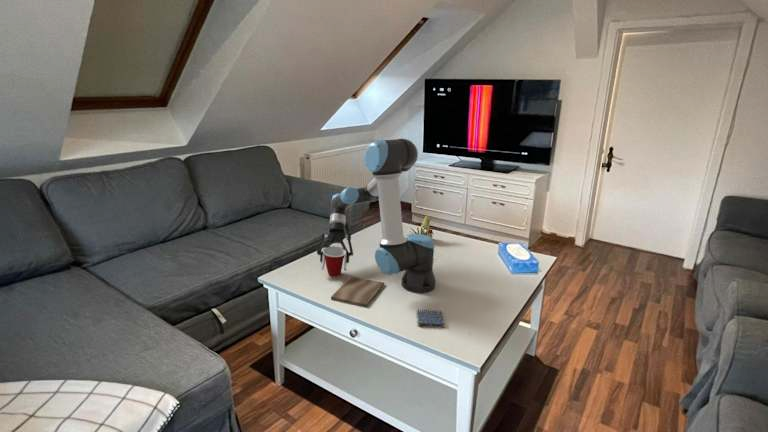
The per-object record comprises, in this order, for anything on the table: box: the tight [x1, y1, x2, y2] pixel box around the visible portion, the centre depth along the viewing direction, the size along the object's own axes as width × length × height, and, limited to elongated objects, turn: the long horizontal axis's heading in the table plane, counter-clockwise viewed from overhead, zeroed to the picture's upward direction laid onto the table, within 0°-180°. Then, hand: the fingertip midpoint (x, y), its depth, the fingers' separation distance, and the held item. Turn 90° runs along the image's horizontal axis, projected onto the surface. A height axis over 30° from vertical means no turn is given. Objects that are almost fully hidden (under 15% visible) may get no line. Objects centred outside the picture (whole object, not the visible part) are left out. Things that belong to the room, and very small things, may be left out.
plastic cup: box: [322, 245, 346, 278], centre depth 191 cm, size 11×11×12 cm
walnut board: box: [330, 276, 385, 308], centre depth 177 cm, size 16×20×1 cm
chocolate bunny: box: [419, 215, 434, 239], centre depth 229 cm, size 7×11×15 cm, turn 143°
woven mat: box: [416, 309, 446, 328], centre depth 158 cm, size 10×11×2 cm
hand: (333, 269), depth 188 cm, fingers closed on plastic cup, 9 cm apart
